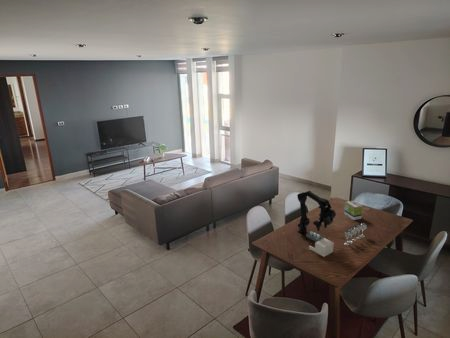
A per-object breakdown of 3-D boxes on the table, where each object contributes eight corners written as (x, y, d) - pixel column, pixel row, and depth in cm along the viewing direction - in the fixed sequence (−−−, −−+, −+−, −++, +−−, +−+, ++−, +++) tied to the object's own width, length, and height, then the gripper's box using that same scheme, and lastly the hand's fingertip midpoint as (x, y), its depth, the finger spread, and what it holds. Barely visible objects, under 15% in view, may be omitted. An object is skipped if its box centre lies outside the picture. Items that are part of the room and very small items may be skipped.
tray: (306, 236, 283) (306, 231, 281) (310, 234, 286) (310, 229, 284) (318, 243, 272) (319, 237, 270) (322, 241, 275) (323, 235, 273)
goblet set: (347, 246, 266) (349, 232, 262) (342, 243, 271) (343, 229, 267) (366, 236, 281) (368, 223, 277) (361, 233, 285) (362, 220, 281)
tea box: (343, 214, 325) (345, 201, 321) (351, 213, 328) (353, 200, 323) (353, 220, 311) (354, 207, 307) (361, 218, 314) (363, 205, 310)
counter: (309, 248, 263) (309, 239, 261) (318, 244, 270) (318, 235, 267) (323, 256, 251) (324, 247, 249) (332, 251, 258) (333, 242, 255)
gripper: (324, 220, 254) (322, 236, 259) (338, 214, 264) (336, 230, 269) (313, 215, 263) (312, 231, 268) (327, 209, 273) (325, 225, 278)
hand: (321, 229), depth 270 cm, fingers open, 9 cm apart
